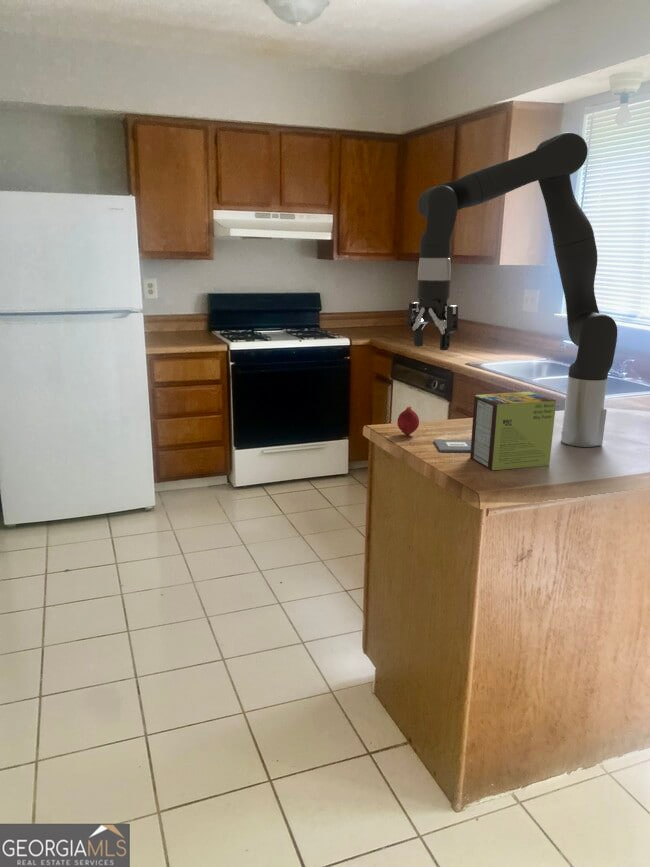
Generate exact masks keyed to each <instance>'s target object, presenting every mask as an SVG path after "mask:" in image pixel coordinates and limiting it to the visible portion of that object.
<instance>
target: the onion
mask: <svg viewBox="0 0 650 867" xmlns="http://www.w3.org/2000/svg"><path fill="white" fill-rule="evenodd" d="M396 423H397V428H398V429H399V430H400V431H401V432H402V434H404V435H405V436H410V435H411V434H413V433H414V432H416V431H417V429H419V425H420V418H419V415H418V414H417V412H415V411H414V410H413V409H412V407H411V405H408V406H407V407H406V409H404V410H403V411H402V412H400V414H399V415H398V418H397V420H396Z"/></svg>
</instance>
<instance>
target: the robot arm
mask: <svg viewBox="0 0 650 867" xmlns="http://www.w3.org/2000/svg"><path fill="white" fill-rule="evenodd" d="M588 152H589V150H588V145H587V142H586V140H585V138H583V136H581V135H580V134H578V133H576V132H572V131H569V132H566V131H565V132H563V133H561V132H560V133H558V134H556V135H554V136H552V137H549V138H547V139H544V140H543V141H541V142H540V143H539V144H538V146H537V147H536V149H535V150H533V151H532V150H531V152H528V153H525V154H522V155H520V156H517V157H514V158H512V159H509V160H506V161H505V160H504V161H502V162H499V163H495V164H492V165H489V166H487V167H484V168H483V167H482V168H480V169H478V170H476V171H473V172H471V173H468V174H466V175H464V176H462V177H460V178H457V179H456V180H452V181H449V182H446V183H442V184H439V185H436V186H433V187H430V188H427V189H425V190H424V191H423V192H422V193H421V194H420V195H419V198H418V199H417V200H418V201H417V211H418V212H419V214H420V215H421V217H423V219H426V226H425V230H424V231H423V233H422V234H421V236H420V240H419V261H418V266H417V285H416V286H417V287H416V288H417V289H416V290H417V291H416V298H417V299H418V300H419V301H411V302H409V304H408V310H407V311H408V314H407V327H408V328H411V329H412V331H413V343H414V346H415V347H422V346H423V344H424V330H423V329H424V328H425V326H426V325H427V324H428V323H431V324H434V325H435V326H436V327H438V330H439V331H440V336H439V350H440V351H448V350H449V348H450V346H451V334H452V333H455V332H458V329H459V307H458V305H457V304H452V305H451V304H450V305H449V304H448V300H449V299H450V297H451V295H450V293H451V278H452V277H451V276H452V273H451V272H452V265H451V264H452V263H451V254H452V250H451V249H452V236H453V232H454V228H455V225H456V224H455V223H456V221H457V214H458V211H459V210H462V209H463V210H464V209H466V208H471V207H476V206H478V205H481V204H484V203H486V202H489V201H492V200H494V199H496V198H498V197H501V196H504V195H506V194H507V193H509V192H512V191H515V190H516V189H519V188H521V187H524V186H526V185H529V184H531V183H534V182H537V181H538V184H539V188H540V191H541V194H542V198H543V201H544V204H545V208H546V213H547V218H548V223H549V228H550V233H551V238H552V244H553V249H554V254H555V258H556V264H557V268H558V272H559V277H560V281H561V286H562V289H563V294H564V300H565V309H566V319H567V320H566V321H567V331H568V336H569V338H570V341H571V342H572V343H573V344H574V345H575V346H576V347H577V355H576V357H575V358H576V359H575V361H574V362H573V363H572V364H570V366H569V368H568V374H567V375H568V377H567V385H566V392H565V393H566V394H565V402H564V411H563V412H564V413H563V418H562V419H563V420H562V428H561V438H560V441H561V443H563V444H565V445H569V446H574V447H580V448H581V447H582V448H593V447H597V446H603V441H604V434H605V428H606V427H605V425H606V419H607V418H606V417H607V412H608V411H607V408H606V407H605V399H606V391H607V383H608V377H609V372H610V371H611V369H612V366H613V363H614V358H615V353H616V347H617V342H618V327H617V323H616V321H615V320H614V318H613V317H611V316H609V315H607V314H604V313H600V310H599V307H598V303H597V299H596V294H595V281H596V280H595V279H596V275H597V274H596V273H597V268H598V267H597V266H598V248H597V244H596V238H595V233H594V229H593V226H592V224H591V222H590V220H589V218H588V216H587V215H586V214H585V211H583V209H582V208H581V206H580V205H579V203H578V202H577V199H576V197H575V194H574V191H573V187H572V180H571V175H573V174H574V173H576V172H578V171H579V170H580V169H581V168H582V166H583V165H584V163H585V162H586V161H587V157H588Z"/></svg>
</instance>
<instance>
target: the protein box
mask: <svg viewBox="0 0 650 867" xmlns="http://www.w3.org/2000/svg"><path fill="white" fill-rule="evenodd" d="M473 398H474V399H473V409H472V410H473V411H472V415H473V416H472V426H471V439H470V440H471V452H469V453H470V454H469V458H470V459H472V460H474V461H475V462H477V463H478V464H480V465H482V466H484V467H485V468H487V469H489V470H490V471H499V470H500V471H501V470H512V469H525V468H532V467H533V468H536V467H545V466H546V467H547V466H550V463H551V462H550V461H551V454H552V453H551V452H552V446H553V445H552V443H553V436H554V426H555V416H556V407H557V399H553V398H551V397H547V396H545V395H541V394H538V393H535V392H532V391H521V392H519V391H517V392H504V393H503V392H501V393H489V394H488V393H487V394H475V395H474V396H473Z"/></svg>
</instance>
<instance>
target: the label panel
mask: <svg viewBox="0 0 650 867" xmlns="http://www.w3.org/2000/svg"><path fill="white" fill-rule="evenodd" d="M433 443H434V445H436V448H437V449H438V452H440V453H471V439H436V438H435V439H433Z"/></svg>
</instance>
